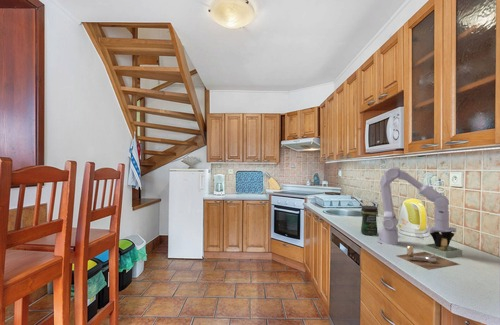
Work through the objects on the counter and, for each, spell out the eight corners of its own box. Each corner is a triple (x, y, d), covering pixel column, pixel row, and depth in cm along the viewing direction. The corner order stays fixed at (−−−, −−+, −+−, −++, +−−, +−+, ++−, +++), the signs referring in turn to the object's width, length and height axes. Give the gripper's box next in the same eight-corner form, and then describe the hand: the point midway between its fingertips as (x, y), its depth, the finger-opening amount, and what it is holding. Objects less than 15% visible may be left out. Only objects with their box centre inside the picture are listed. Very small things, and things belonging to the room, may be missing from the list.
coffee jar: (362, 235, 152) (362, 206, 152) (360, 231, 159) (359, 204, 160) (379, 236, 149) (379, 207, 150) (375, 232, 157) (375, 205, 157)
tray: (422, 251, 123) (422, 244, 123) (438, 249, 126) (438, 242, 126) (445, 259, 112) (445, 252, 112) (462, 257, 115) (462, 249, 116)
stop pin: (435, 248, 121) (435, 236, 121) (441, 248, 121) (441, 236, 122) (443, 251, 117) (443, 239, 117) (449, 250, 118) (449, 238, 118)
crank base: (395, 257, 115) (395, 255, 115) (425, 253, 120) (425, 251, 120) (428, 272, 99) (428, 269, 99) (461, 266, 105) (461, 263, 105)
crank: (433, 259, 109) (433, 246, 109) (438, 263, 105) (438, 249, 105) (405, 257, 112) (405, 244, 112) (409, 261, 108) (409, 247, 108)
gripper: (435, 221, 115) (435, 249, 115) (462, 221, 116) (462, 248, 116) (423, 218, 122) (423, 244, 122) (448, 217, 123) (449, 243, 123)
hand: (441, 246), depth 119 cm, fingers closed on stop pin, 4 cm apart
